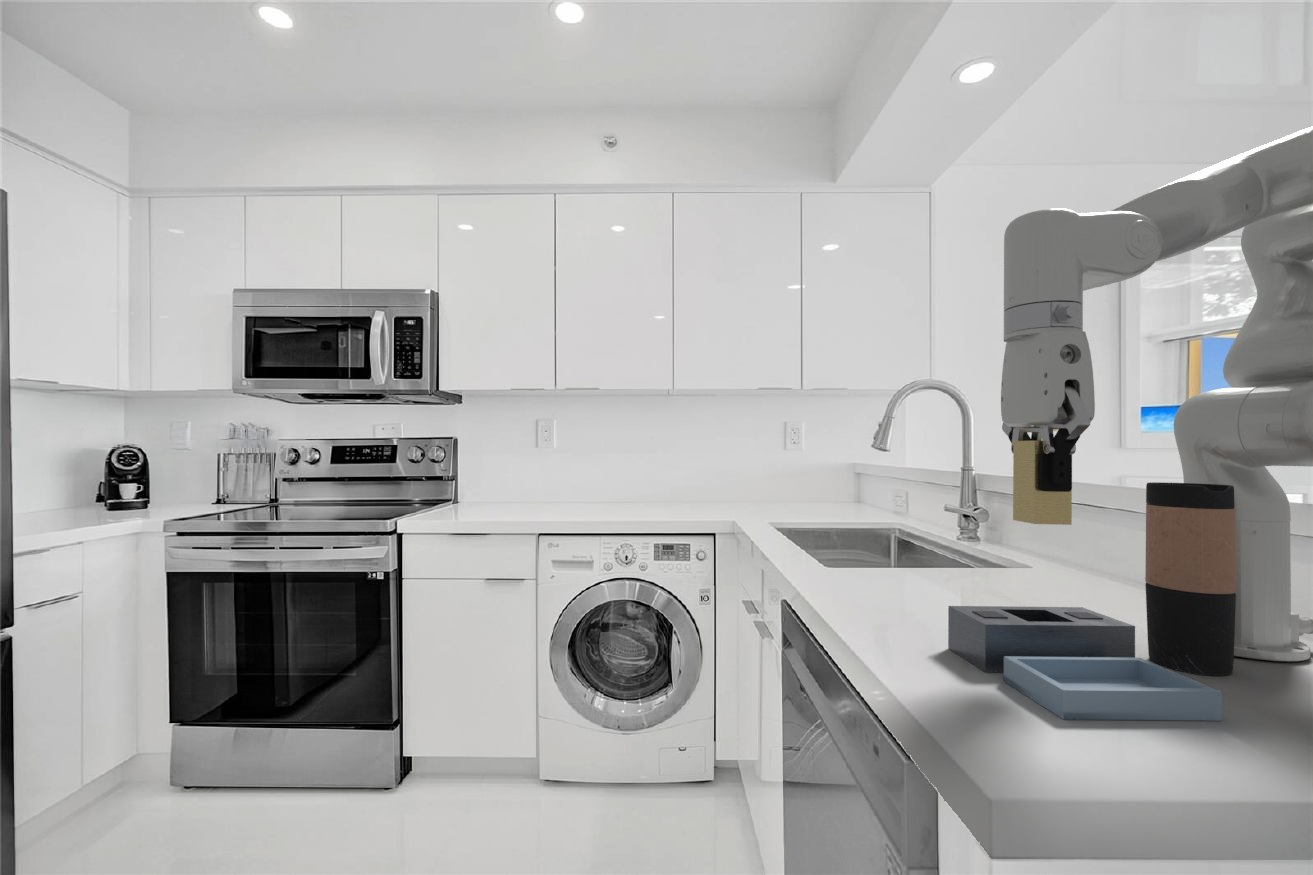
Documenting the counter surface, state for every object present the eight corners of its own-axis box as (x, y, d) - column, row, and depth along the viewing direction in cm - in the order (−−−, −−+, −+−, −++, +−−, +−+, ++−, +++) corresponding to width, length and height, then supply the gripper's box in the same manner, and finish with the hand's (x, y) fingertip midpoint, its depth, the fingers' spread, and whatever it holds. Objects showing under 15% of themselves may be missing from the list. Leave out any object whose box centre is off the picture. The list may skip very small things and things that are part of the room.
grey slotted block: (1082, 649, 74) (1082, 606, 74) (1135, 673, 66) (1135, 625, 66) (948, 648, 74) (948, 605, 74) (985, 672, 66) (985, 623, 66)
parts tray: (1139, 682, 63) (1139, 657, 63) (1222, 720, 54) (1221, 691, 54) (1003, 681, 63) (1003, 656, 63) (1063, 719, 54) (1063, 690, 54)
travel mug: (1151, 649, 74) (1150, 481, 75) (1238, 665, 69) (1237, 484, 69) (1140, 664, 69) (1139, 483, 70) (1234, 683, 64) (1233, 486, 64)
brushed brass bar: (1048, 520, 71) (1048, 441, 71) (1071, 524, 67) (1071, 441, 67) (1013, 519, 71) (1013, 441, 71) (1034, 524, 67) (1034, 440, 67)
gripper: (1133, 309, 61) (1133, 496, 61) (1030, 339, 78) (1030, 486, 77) (1056, 307, 61) (1056, 494, 61) (970, 338, 78) (970, 485, 77)
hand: (1041, 488), depth 69 cm, fingers closed on brushed brass bar, 4 cm apart
